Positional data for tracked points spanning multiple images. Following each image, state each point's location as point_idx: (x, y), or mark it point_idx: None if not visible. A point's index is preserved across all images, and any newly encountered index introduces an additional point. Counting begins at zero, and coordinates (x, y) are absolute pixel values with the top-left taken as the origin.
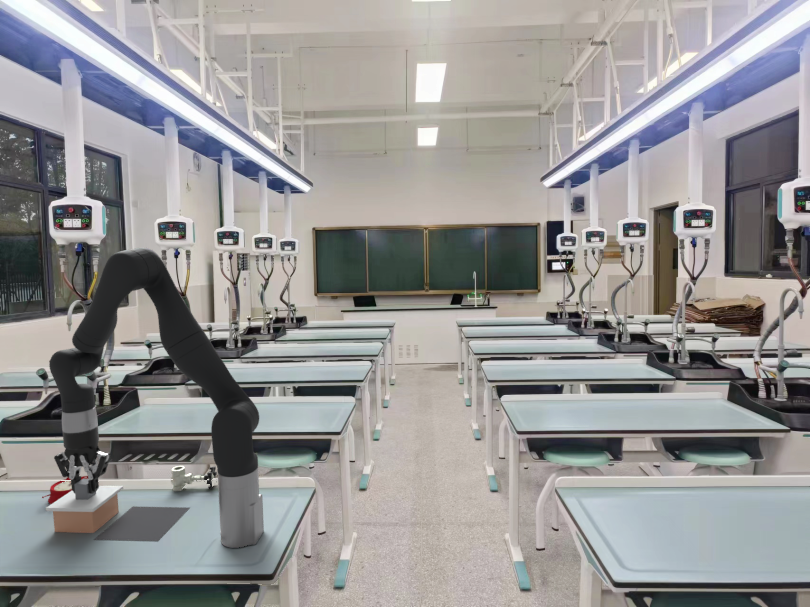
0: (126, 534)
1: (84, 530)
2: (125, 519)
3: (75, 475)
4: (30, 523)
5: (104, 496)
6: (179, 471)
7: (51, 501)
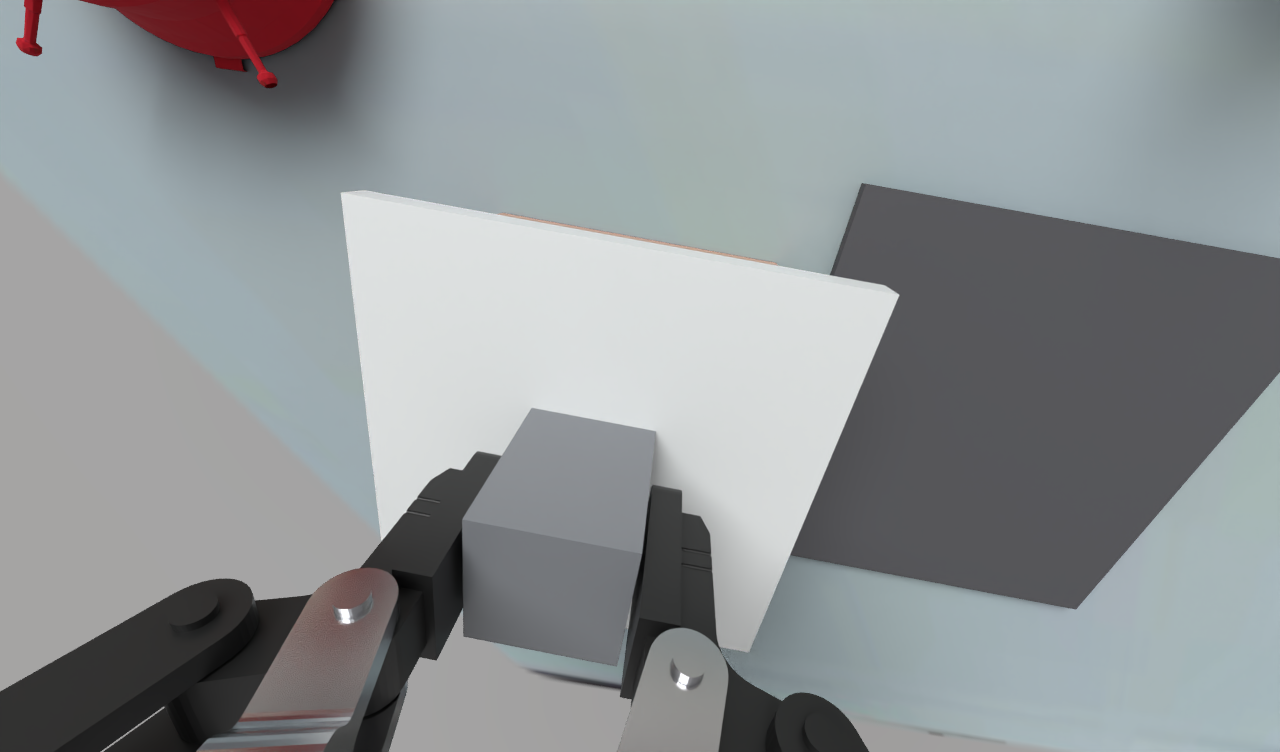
0: (900, 532)
1: None
2: None
3: (394, 696)
4: (268, 312)
5: (764, 499)
6: None
7: (126, 15)
